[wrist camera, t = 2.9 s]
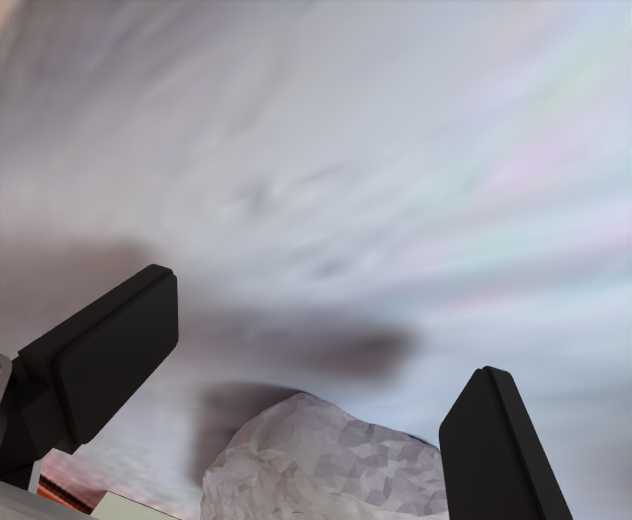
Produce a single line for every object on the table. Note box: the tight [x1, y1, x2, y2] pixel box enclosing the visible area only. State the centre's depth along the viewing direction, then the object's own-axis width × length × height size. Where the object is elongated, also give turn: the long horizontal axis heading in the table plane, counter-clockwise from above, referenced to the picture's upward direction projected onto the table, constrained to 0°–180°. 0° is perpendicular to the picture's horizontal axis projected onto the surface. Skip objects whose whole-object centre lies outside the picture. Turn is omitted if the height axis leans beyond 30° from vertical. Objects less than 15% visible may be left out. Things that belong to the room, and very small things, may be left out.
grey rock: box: [200, 392, 449, 520], centre depth 15 cm, size 12×5×10 cm
